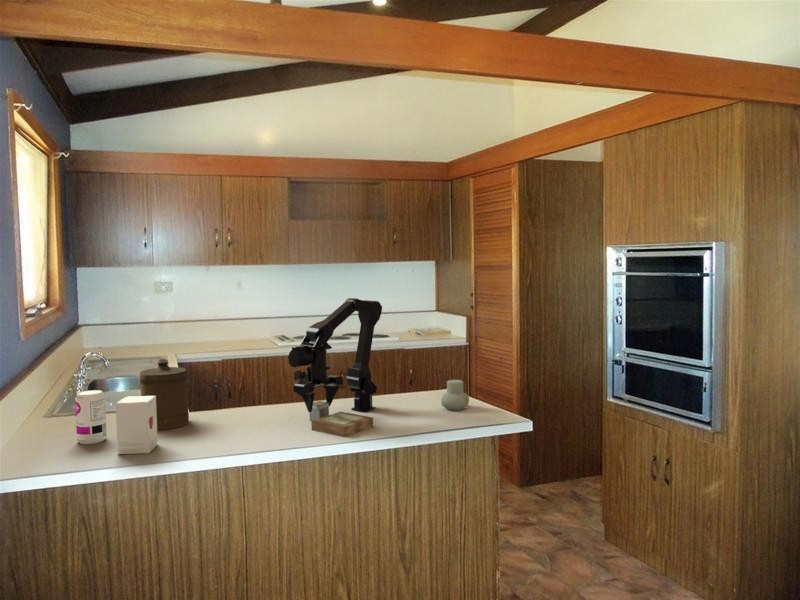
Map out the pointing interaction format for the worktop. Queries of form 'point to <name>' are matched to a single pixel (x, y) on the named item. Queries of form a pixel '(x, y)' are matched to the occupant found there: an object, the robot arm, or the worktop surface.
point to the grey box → (319, 410)
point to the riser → (342, 423)
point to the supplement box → (136, 424)
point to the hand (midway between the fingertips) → (319, 409)
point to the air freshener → (455, 396)
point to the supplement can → (90, 417)
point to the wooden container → (167, 394)
